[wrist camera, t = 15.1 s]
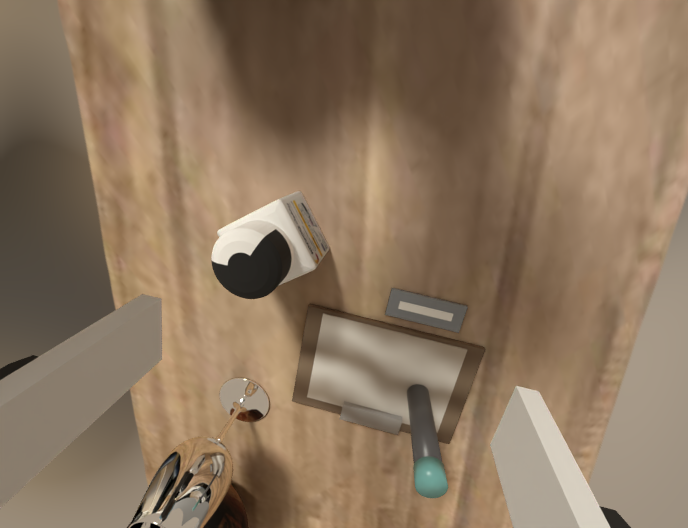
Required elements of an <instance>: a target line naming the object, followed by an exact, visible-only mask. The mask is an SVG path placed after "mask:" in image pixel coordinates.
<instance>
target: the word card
mask: <svg viewBox="0 0 688 528" xmlns="http://www.w3.org/2000/svg"><path fill="white" fill-rule="evenodd" d="M467 308H468V307H467V306H466V305H462V304H458V303H454V302H450V301H445V300H441V299H437V298H433V297H429V296H425V295H420V294H416V293H412V292H408V291H404V290H399V289H395V288H392V290H391V294H390V297H389V301H388V305H387V309H386V313H385V315H388V316H392V317H396V318H400V319H405V320H409V321H413V322H417V323H421V324H425V325H429V326H433V327H437V328H441V329H445V330H449V331H453V332H457V333H459V331H460V328H461V325H462V322H463V319H464V316H465V313H466V310H467Z"/></svg>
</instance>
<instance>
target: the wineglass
mask: <svg viewBox="0 0 688 528" xmlns="http://www.w3.org/2000/svg"><path fill="white" fill-rule="evenodd" d="M219 395H220V401H221V404H222V406H223V408H224V409H225V410H226V411H227V412H228V413H229V414H230V415H231V417H230V419H229V420H228V422H227V423H226V425H225V426H224V428H223V429H222V431H221V432H220V434H219V435H218V436H217V437H216V438H211V437H195V438H192V439H188V440H186V441H184V442H182V443H181V444H180V445H178V446H177V447H176V448H174V449H173V450H172V451H171V453H170V454H169V455H168V456H167V457H166V459H165V460H164V462H163V463H162V465H161V466H160V468H159V469H158V471H157V472H156V474H155V476H154V477H153V479H152V481H151V483H150V485H149V487H148V489H147V491H146V493H145V495H144V497H143V499H142V501H141V503H140V505H139V507H138V509H137V511H136V513H135V515H134V517H133V520H132V521H131V523H130V526H129V528H204V527H205V525H206V524H207V523H208V521H209V520H210V519H211V517H212V516H213V515H214V513H215V512H216V510H217V509H218V507H219V506H220V504H221V503H222V501H223V499H224V497H225V496H226V494H227V492H228V489H229V487H230V485H231V482H232V476H233V462H232V457H231V455H230V453H229V451H228V449H227V448H226V447H225V445H224V444H223V443H222V441H223V439H224V437H225V435H226V433H227V432H228V430H229V428H230V427H231V425H232V424H233V422H234V420H235V419H238V420H241V421H246V422H253V421H257V420H260V419H261V418H263V417H264V416H265V415H266V414H267V412H268V410H269V399H268V396H267V394H266V392H265V391H264V389H263V388H262V387H261V386H260V385H259V384H257V383H256V382H254V381H252V380H250V379H246V378H233V379H230V380H228V381H226V382H225V383H224V384H223V385H222V387H221V389H220V394H219Z"/></svg>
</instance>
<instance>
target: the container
mask: <svg viewBox="0 0 688 528" xmlns="http://www.w3.org/2000/svg"><path fill="white" fill-rule="evenodd" d="M217 233H218V236H219V237H220V238H219V239H218V240H217V241H216V243H215V245H214V248H213V251H212V266H213V270H214V273H215V275H216V277H217V279H218V280H219V282H220V283H221V284H222V285H223V287H225V288H226V289H227V290H228V291H229V292H231V293H233V294H234V295H236V296H239V297H242V298H246V299H257V298H262V297H264V296H267V295H268V294H270V293H271V292H272V291H273V290H275V288H276V287H277V286H279V285H281V284H283V283H286V282H288V281H290V280H292V279H295V278H297V277H299V276H302V275H304V274H306V273H309V272H311V271H313V270H315V269H316V267H317V266H318V265H319V263H320V262H321V260H322V259H323V258H324V256H325V255H326V254H327V252H328V251H329V249H330V248H329V245H328V243H327V241H326V239H325V238H324V236H323V234H322V232H321V230H320V228H319V226H318V224H317V222H316V220H315V218H314V216H313V214H312V212H311V210H310V208H309V206H308V204H307V202H306V200H305V198H304V196H303V194H302V193H301V192H300V191H297V192H294V193H292V194H290V195H287V196H285V197H283V198H280V199H278V200H276V201H274V202H272V203H270V204H268V205H266V206H264V207H262V208H260V209H258V210H256V211H254V212H252V213H250V214H248V215H246V216H244V217H242V218H241V219H239V220H237V221H235V222H233V223H231V224H229V225H227V226H225V227H223V228H221V229H219V230H218V232H217Z"/></svg>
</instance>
